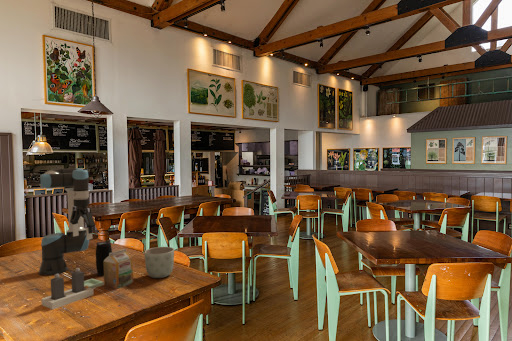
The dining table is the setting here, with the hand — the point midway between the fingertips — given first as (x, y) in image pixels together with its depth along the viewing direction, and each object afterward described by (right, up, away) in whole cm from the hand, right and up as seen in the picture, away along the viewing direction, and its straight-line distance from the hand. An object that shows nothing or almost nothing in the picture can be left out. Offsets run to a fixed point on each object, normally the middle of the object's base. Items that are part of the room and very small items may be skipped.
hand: (82, 237), depth 187 cm
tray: (+3, -27, +1) cm, 27 cm away
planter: (+37, -26, +17) cm, 49 cm away
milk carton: (+19, -27, +3) cm, 33 cm away
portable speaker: (+2, -27, +22) cm, 35 cm away
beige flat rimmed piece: (+2, -28, -17) cm, 33 cm away
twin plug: (-1, -27, -21) cm, 35 cm away
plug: (+4, -27, -13) cm, 30 cm away
